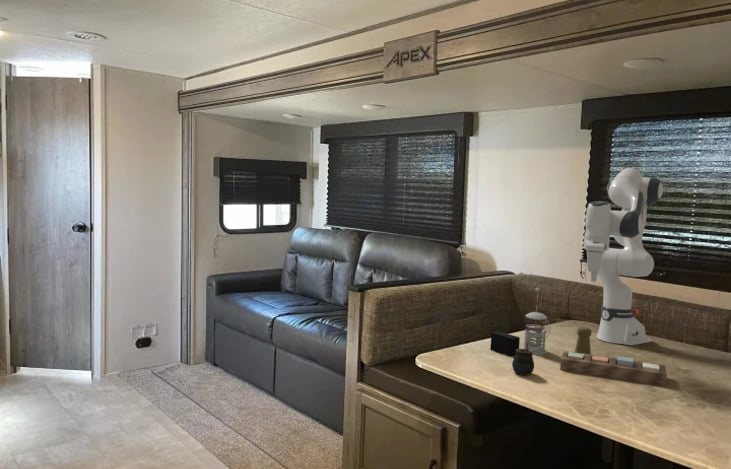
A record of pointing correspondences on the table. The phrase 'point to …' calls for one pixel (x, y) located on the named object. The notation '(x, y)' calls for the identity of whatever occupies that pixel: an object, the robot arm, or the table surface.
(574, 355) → the sage key
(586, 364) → the key frame
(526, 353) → the mate gourd
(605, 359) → the terracotta key
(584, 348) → the cork
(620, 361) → the slate key
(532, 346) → the french press
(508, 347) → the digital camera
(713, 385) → the table surface
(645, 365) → the cream key
